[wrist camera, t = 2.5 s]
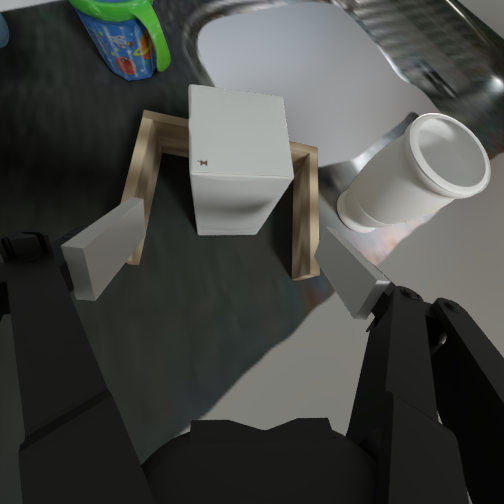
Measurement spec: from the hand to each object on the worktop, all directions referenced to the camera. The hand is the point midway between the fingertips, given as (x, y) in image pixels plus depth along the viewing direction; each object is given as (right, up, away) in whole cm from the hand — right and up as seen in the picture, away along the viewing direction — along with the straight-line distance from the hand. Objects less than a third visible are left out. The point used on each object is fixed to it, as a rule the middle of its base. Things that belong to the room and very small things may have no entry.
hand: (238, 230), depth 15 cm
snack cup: (-19, +29, +20) cm, 40 cm away
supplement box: (-3, +5, +17) cm, 18 cm away
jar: (+19, +6, +21) cm, 30 cm away
